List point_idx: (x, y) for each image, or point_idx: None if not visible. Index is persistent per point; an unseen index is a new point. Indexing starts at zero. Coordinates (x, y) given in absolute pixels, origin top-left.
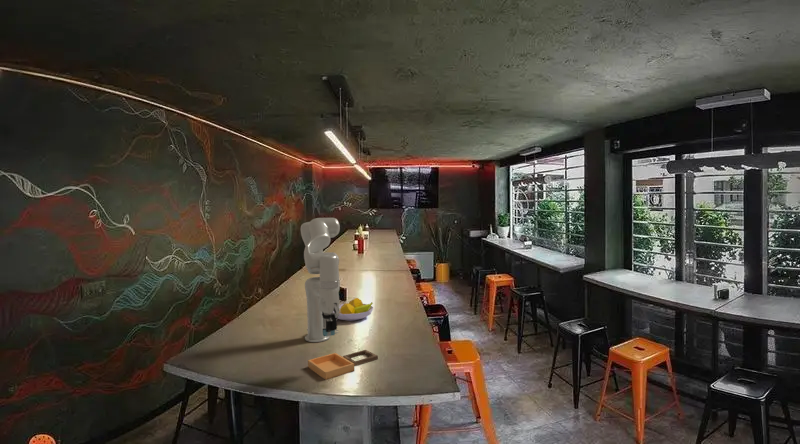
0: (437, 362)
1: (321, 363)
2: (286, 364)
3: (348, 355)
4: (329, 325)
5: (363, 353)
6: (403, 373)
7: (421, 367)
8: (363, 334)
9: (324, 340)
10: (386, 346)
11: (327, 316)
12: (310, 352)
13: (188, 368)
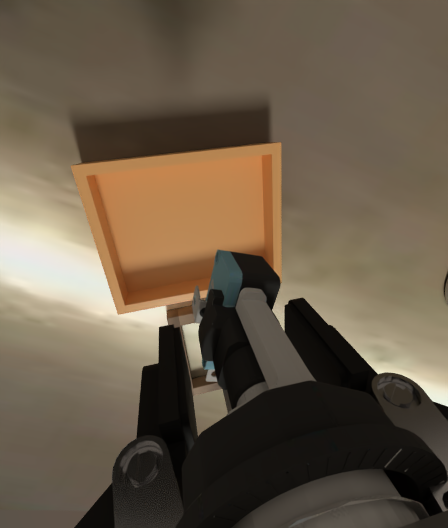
0: (68, 506)
1: (258, 206)
2: (363, 57)
3: None
4: (168, 366)
5: None
6: (21, 423)
7: (49, 470)
8: None
9: (446, 287)
10: None
11: (203, 499)
12: (397, 208)
13: None
